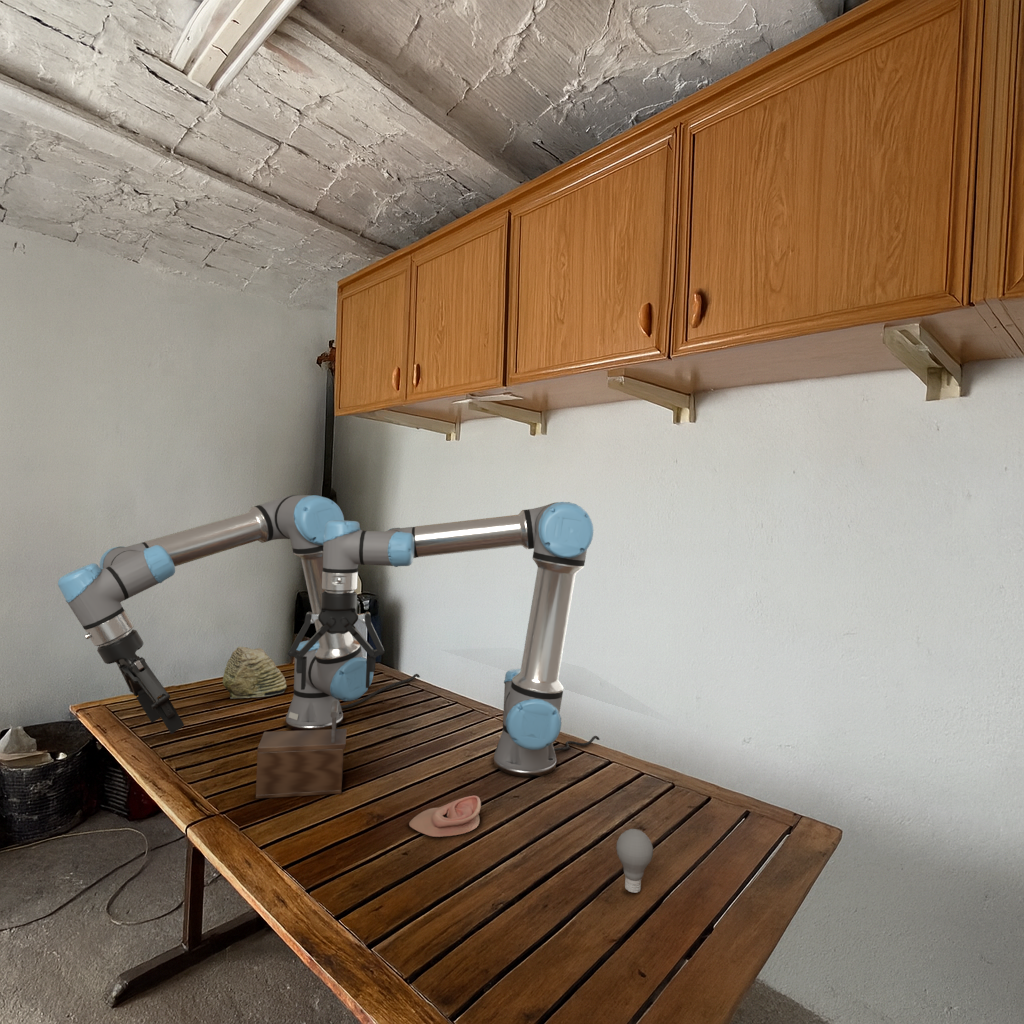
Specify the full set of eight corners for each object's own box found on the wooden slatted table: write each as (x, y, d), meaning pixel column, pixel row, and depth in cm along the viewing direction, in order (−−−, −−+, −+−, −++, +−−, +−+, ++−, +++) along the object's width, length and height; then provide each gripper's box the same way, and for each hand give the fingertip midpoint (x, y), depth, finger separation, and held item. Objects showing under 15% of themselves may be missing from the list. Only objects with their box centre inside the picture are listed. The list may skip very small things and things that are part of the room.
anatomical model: (403, 811, 121) (424, 785, 132) (402, 832, 121) (423, 804, 132) (471, 821, 118) (485, 794, 129) (470, 843, 118) (485, 813, 129)
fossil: (218, 695, 195) (220, 647, 195) (278, 685, 208) (279, 640, 207) (228, 703, 189) (230, 653, 188) (289, 692, 201) (290, 645, 201)
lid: (346, 733, 144) (347, 698, 144) (345, 748, 136) (346, 712, 135) (264, 736, 140) (265, 701, 140) (257, 752, 131) (258, 715, 131)
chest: (342, 775, 145) (344, 733, 144) (341, 793, 136) (343, 749, 135) (262, 779, 141) (264, 736, 140) (255, 798, 132) (257, 752, 132)
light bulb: (610, 879, 108) (613, 822, 108) (644, 879, 109) (647, 822, 109) (619, 902, 102) (622, 840, 102) (655, 901, 103) (658, 840, 103)
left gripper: (82, 643, 134) (133, 725, 139) (110, 653, 116) (167, 747, 122) (119, 624, 139) (167, 704, 144) (151, 631, 121) (204, 721, 126)
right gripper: (277, 592, 132) (273, 693, 133) (398, 593, 138) (394, 690, 138) (281, 587, 140) (278, 683, 140) (396, 588, 145) (392, 680, 146)
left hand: (167, 723), depth 133 cm, fingers open, 13 cm apart
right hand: (335, 687), depth 139 cm, fingers open, 13 cm apart
